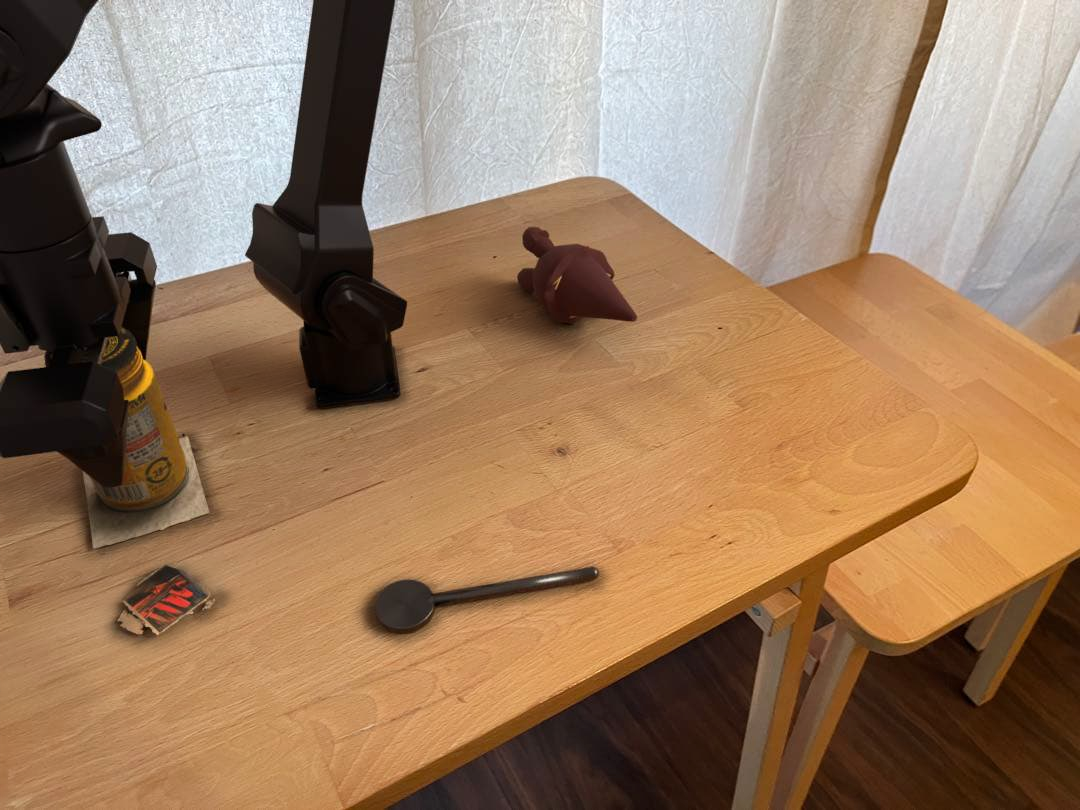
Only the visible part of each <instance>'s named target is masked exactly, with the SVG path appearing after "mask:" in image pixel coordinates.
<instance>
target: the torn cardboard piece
mask: <svg viewBox="0 0 1080 810" xmlns="http://www.w3.org/2000/svg"><path fill="white" fill-rule="evenodd" d="M211 596H212V595H211V591H210V590H209V589H208V588H205V587H204V586H202V583H199V582H197V581H196V580H195V579H193V578H191V577H190V575H189V574H188V573H187V571H185V570H183V569H181V568H176V567H172V566H170V565H167V564H166V563H165V564H163V565H162V566H160V567H158V568H157V569H156V570H154V571H152V573H149V575H148V576H146V577H144V578H143V579H142V580H141V581H140V582H138V583H135V587H134V588H133V589H132V591H131V592H130V593H129V594H128V596H126V598H124V600H123V601H122V603H124V605H125V606H126V607H127V608H128V610H129V611H130V612H132V613H130V612H129V613H128V610H127V609H124V610H123V612H122V613H121V614H120V616H119V618H118V619H117V622H121V624H119V627H122V629H123V630H125V629H126V630H127V631H128V632H131V633H134V634H136V635H142V634H143V633H144V632H145V630H143V629H144V627H146V628H150V629H151V631H152V633H153V634H156V636H159V635H161V634H162V633H165V632H166V630H168V629H169V628H170V627H171V626H173V625H175V624H176V623H178V622H179V621H180V619H183V617H185V616H187V615H191V614H194V610H195V609H196V608H197V607H198V606H199V605H202V604H203V603H205V602H206V603H205V605H204V606H203V608H202V610H209V609H210V608H211V607H212V606H213V605H214V604H215V602H216V601H217V600H218V598H220V595H218V596H215V597H214V598H212V599H210V600H208V599H209V598H210V597H211ZM134 615H135V616H134ZM137 617H138V618H137Z"/></svg>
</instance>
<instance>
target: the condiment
mask: <svg viewBox="0 0 1080 810" xmlns="http://www.w3.org/2000/svg"><path fill="white" fill-rule="evenodd" d="M53 353H54V351H45V353H44V355H43V358H44V367H49V364H50V362H51V359H52V356H53ZM101 365H103V366H105V367H107V368H109V369H111V370H113V371H115V372H117V374H118V377H119V379H120V382H121V384H122V387H123V394H124V400H128V401H129V409H128V423H127V435H126V449H125V462H124V474H123V482H122V485H121V486H118V487H111V488H104V487H102V486H101V485H100V484H98V483H97V482H96V481H95V480H93V479H92V478H91V477H90V476H88V475H87V474H86V473H85V472H83V471H82V476H83V484H84V490H85V496H86V504H87V514H88V520H89V525H90V534H91V543H92V548H93V550H94V549H98V548H101V547H105V546H110V545H114V544H117V543H120V542H124V541H127V540H129V539H134V538H138V537H141V536H144V535H147V534H150V533H154V532H156V531H159V530H160V531H164V530H165V529H167V528H169V527H170V526H173V525H177V524H179V523H184V522H188V521H190V520H193V519H195V518H197V517H201V516H203V515H206V514H210V509H209V506H208V503H207V499H206V495H205V492H204V488H203V484H202V482H201V478H200V474H199V471H198V468H197V464H196V460H195V457H194V453H193V449H192V446H191V442H190V440H189V436H188V435H186V436H183V437H180V438H179V437H178V436H179V435H178V434H177V432H176V429H175V426H174V423H173V418H172V416H171V414H170V410H169V409H168V407H167V404H166V402H165V399H164V396H163V395H164V394H163V393H162V390H161V388H160V384H159V382H158V379H157V376H156V375H155V370H154V369H153V367H152V365H151V364H150V363H149V362H148V361H147V360H146V361H145V360H144V359H143V357H142V354H141V352H140V350H139V349H138V347H137V343H136V339H135V338H134V336H133V335H132V333H131V332H130V331H129V330H127V329H125V328H123V327H122V326H121V329H120V333H119V336H113V337H108V341H107V344H106V348H105V352H104V355H103V359H102V362H101Z"/></svg>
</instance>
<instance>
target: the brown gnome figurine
mask: <svg viewBox="0 0 1080 810" xmlns="http://www.w3.org/2000/svg"><path fill="white" fill-rule="evenodd" d="M521 236H522V237H521V238H522V246H523V247H524V248H525V250H527V251H528V252H529V253H531V254H533V255H534V256H535V257H536V258H537V259H538V260H537V262H536V264H535V267H523V268H522V269H521V270H520V271H519V272H518V273H517V276H516V278H517V283H518V285H519V286H521V287H522V288H523V289H524V290H526V291H527V292H530V293H534V296H535V299H536V301H537V302H538V304H540V305H541V307H543V308H544V309H545V310H546V311H547V312H548V313H549V316H550V318H551V320H553V321H555V322H560V323H565V324H570V325H575V324H577V323H578V322H580V321H581V320H582V319H585V318H589V319H600V320H601V319H602V320H612V321H621V322H636V321H638V315H637V314H636V312H635V310H634V309H633V307H632V306H631V305H630V303H629V302H628V301H627V300H626V298H625V297H624V295H623V293H622V292H621V291H620V289H619V288H618V287H617V286H616V284H615V283H614V281H613V279H614V277H615V276H616V274H615V271H614V269H613V268H612V266H611V265H610V263H609V262H608V259H607V256H606V255H605V253H604V252H603V251H602V250H599V249H595V248H592V247H590V246H588V245H584V244H580V243H568V244H560V245H555V244H554V242H553V241H552V240H551V238H550V233H549V231H547V230H546V229H541V228H540V227H539V226H528V227H526V229H525V230H524V231H523V233H522V235H521Z"/></svg>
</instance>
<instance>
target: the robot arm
mask: <svg viewBox="0 0 1080 810" xmlns="http://www.w3.org/2000/svg"><path fill="white" fill-rule="evenodd" d="M396 1H397V0H312V8H311V16H310V22H309V31H308V38H307V46H306V53H305V60H304V69H303V75H302V83H301V91H300V97H299V105H298V113H297V121H296V128H295V135H294V136H295V137H294V143H293V152H292V159H291V167H290V174H289V179H288V183H287V185H286V187H285V189H284V190H283V191H282V192H281V194H280V195H279V196H278V197H277V199H276V201H275V202H274V203H273V204H272V205H271V204H270V205H269V204H265V203H260V202H256V203H254V205H253V207H252V210H251V211H252V212H251V220H252V221H251V222H252V235H251V239H250V243H249V245H248V247H247V249H246V251H245V253H244V256H245V257H246V258H247V259H248V260H250V261H251V262H252V264H253V268H252V269H253V273H254V276H255V277H254V278H255V280H256V281H258V283H259V284H260V285H261V286H262V288H264V290H265V291H267V292H268V293H269V294H270V295H272V297H274V298H275V299H276V300H278V301H279V302H280V303H282V304H283V305H284V306H285V307H287V309H289V310H290V311H291V312H293V313H294V314H295V315H296V316H298V317H299V318H300V319H301V320H303V326H301V327H300V328H299V330H298V332H299V333H298V347H299V352H300V358H301V362H302V366H303V367H302V368H303V371H304V375H305V379H306V384H307V387H308V388H309V389H310V390H313V389H314V402H315V406H316V408H318V409H327V408H328V409H329V408H334V407H335V408H336V407H342V406H350V405H351V406H352V405H357V404H358V405H359V404H365V403H373V402H380V401H388V400H394V399H398V398H400V397H401V396H402V392H401V391H402V390H401V385H400V377H399V371H398V370H399V369H398V363H397V355H396V348H395V346H394V345H393V338H392V333H393V332H395V331H397V330H399V329H401V328H402V327H403V326H404V323H405V318H406V312H407V307H408V301H407V300H406V299H405V298H403V297H401V296H400V295H399V294H397V293H396V292H395V291H394V290H392V289H390V288H389V287H387V286H386V285H385V284H383V283H382V282H380V281H379V280H377V279H376V278H375V277H374V253H375V250H374V249H375V248H374V244H373V241H372V237H371V233H370V229H369V226H368V225H369V224H368V222H367V221H368V220H367V218H366V217H367V216H366V214H365V213H366V212H365V210H364V205H363V195H364V188H365V182H366V178H367V177H366V176H367V172H368V165H369V160H370V154H371V148H372V142H373V135H374V129H375V124H376V118H377V114H378V113H377V112H378V106H379V100H380V94H381V89H382V88H381V87H382V83H383V77H384V73H385V64H386V59H387V54H388V49H389V42H390V35H391V30H392V25H393V18H394V11H395V8H396V7H395V6H396ZM98 2H99V0H0V348H1V349H2V352H3V353H4V354H5V355H7V354H15V353H23V352H28V351H29V349H30V347H33V346H37V347H38V349H39V350H40V351H45V352H46V351H54V353H53V356H52V359H51V362H50V364H49V367H46V366H43V367H34V368H26V369H19V370H10V371H7V373H6V374H5V375H4V377H3V378H2V380H1V381H0V457H1V458H2V459H11V458H17V457H25V456H33V455H40V454H46V453H58V454H59V455H61V456H63V457H64V458H65V459H67V460H68V461H69V462H70V463H72V464H74V465H75V466H76V467H77V468H78V469H80V470H81V471H82V473H83V472H85V473H86V474H87V475H88V476H90V477H91V478H92V479H93V480H95V481H96V482H97V483H98V484H100V485H101V486H102V487H104V488H111V487H118V486H121V485H122V482H123V474H124V462H125V449H126V435H127V423H128V409H129V401H128V400H124V394H123V387H122V384H121V382H120V379H119V377H118V374H117V372H115V371H113V370H111V369H109V368H107V367H105V366H103V365H101V362H102V359H103V355H104V352H105V348H106V344H107V341H108V337H113V336H119V333H120V329H121V326H122V327H123V328H125V329H127V330H129V331H130V332H131V333H132V335H133V336H134V338H135V339H136V343H137V347H138V349H139V350H140V352H141V354H142V357H143V359H144V360H145V361H146V362H147V356H148V346H149V339H150V330H151V324H152V316H153V308H154V301H155V299H154V298H155V292H156V287H157V283H156V280H155V278H156V273H157V269H158V265H157V262H156V261H157V260H156V258H155V255H154V252H153V249H152V247H151V243H150V242H149V241H147V240H145V239H143V238H142V237H140V236H139V235H136V234H135V233H133V232H131V231H129V232H119V233H110V229H109V227H108V224H107V222H106V218H105V216H103V215H101V216H100V215H99V216H92V214H91V211H90V208H89V206H88V203H87V200H86V198H85V194H84V192H83V189H82V186H81V184H80V181H79V179H78V175H77V173H76V170H75V168H74V166H73V163H72V160H71V157H70V154H69V153H68V150H67V147H66V144H65V142H66V141H69V140H72V139H76V138H80V137H82V136H83V137H84V136H87V135H89V134H94V133H97V132H99V131H100V130H102V129H101V128H102V125H103V124H102V121H101V119H100V118H99V117H97V115H95V114H94V113H92V112H91V111H89V109H87V108H85V107H84V106H83V105H82V104H81V103H78V101H76V100H74V99H72V98H69V97H66V96H64V95H62V94H61V93H60V92H59V91H58V90H56V89H55V87H52V86H51V85H50V84H49V82H50V81H51V79H52V78H53V77H54V75H55V74H56V73H57V72H58V70H59V69H60V67H61V66H62V65H63V64H64V63H65V61H67V59H68V57H69V56H70V54H71V53H72V51H73V48H74V46H75V44H76V42H77V39H78V36H79V34H80V32H81V30H82V27H83V25H84V22H85V20H86V18H87V17H88V15H89V13H90V12H91V11H92V10H93V8H94V7H95V6H96V4H97V3H98ZM130 272H131V273H132V272H133V273H134V276H135V278H133V279H132V276H131V274H130Z"/></svg>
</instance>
